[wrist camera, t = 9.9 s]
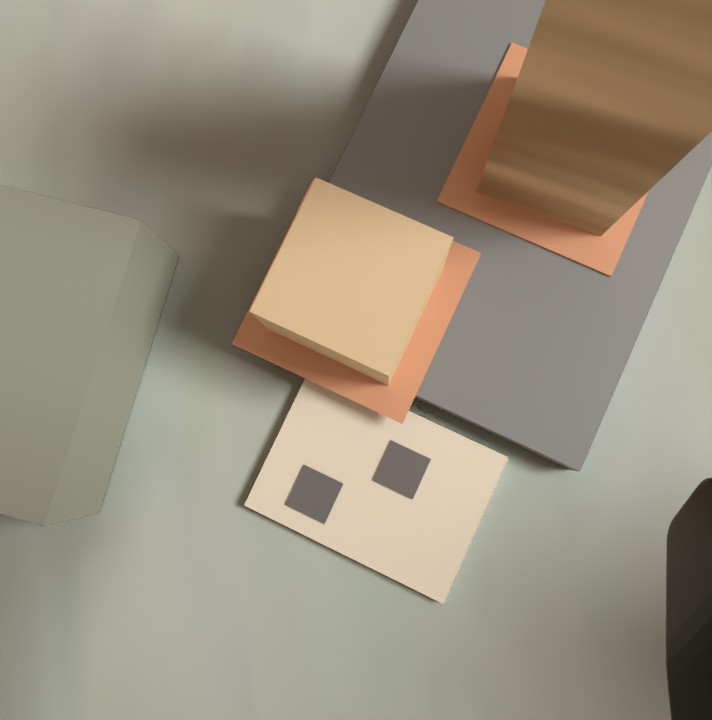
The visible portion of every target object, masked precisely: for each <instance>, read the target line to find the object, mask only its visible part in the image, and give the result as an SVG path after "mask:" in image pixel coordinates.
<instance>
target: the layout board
mask: <svg viewBox="0 0 712 720" xmlns="http://www.w3.org/2000/svg"><path fill="white" fill-rule="evenodd" d="M545 1H546V0H418V2H417V4H416V6H415V8H414V10H413V12H412V14H411V16H410V18H409V20H408V22H407V24H406V26H405V28H404V30H403V32H402V34H401V36H400V38H399V40H398V42H397V45H396V47H395V49H394V51H393V53H392V55H391V57H390V59H389V61H388V63H387V65H386V67H385V69H384V71H383V73H382V75H381V77H380V79H379V81H378V83H377V85H376V87H375V89H374V91H373V93H372V95H371V97H370V99H369V101H368V103H367V106H366V108H365V110H364V112H363V114H362V116H361V118H360V120H359V122H358V124H357V126H356V128H355V130H354V132H353V134H352V136H351V138H350V140H349V142H348V144H347V146H346V148H345V150H344V152H343V154H342V156H341V158H340V160H339V162H338V164H337V167H336V169H335V171H334V173H333V175H332V177H331V179H330V181H329V183H328V182H326V181H323V180H321V179H319V178H316V177H315V179H314V180H312V182H311V184H310V186H309V188H308V190H307V192H306V194H305V196H304V198H303V200H302V202H301V204H300V206H299V208H298V210H297V212H296V214H295V216H294V218H293V220H292V222H291V224H290V226H289V228H288V230H287V232H286V234H285V236H284V238H283V240H282V242H281V244H280V246H279V248H278V250H277V252H276V254H275V256H274V259H273V261H272V263H271V265H270V267H269V269H268V271H267V273H266V275H265V277H264V279H263V281H262V283H261V285H260V287H259V289H258V291H257V293H256V295H255V297H254V299H253V301H252V303H251V305H250V307H249V309H248V311H247V313H246V315H245V317H244V319H243V321H242V323H241V325H240V327H239V329H238V331H237V333H236V335H235V337H234V339H233V341H232V343H231V344H233V345H235V346H237V347H239V348H241V349H244V350H246V351H248V352H250V353H252V354H254V355H256V356H258V357H261V358H263V359H265V360H267V361H269V362H271V363H273V364H276V365H278V366H280V367H282V368H284V369H286V370H288V371H290V372H293V373H295V374H297V375H299V376H301V377H303V378H305V379H307V380H310V381H312V382H314V383H316V384H318V385H320V386H322V387H324V388H327V389H329V390H331V391H333V392H335V393H337V394H339V395H342V396H344V397H346V398H348V399H350V400H352V401H354V402H356V403H359V404H361V405H363V406H365V407H367V408H369V409H371V410H373V411H376V412H378V413H380V414H382V415H384V416H386V417H388V418H390V419H393V420H395V421H397V422H399V423H401V424H403V422H404V420H405V418H406V415H407V413H408V411H409V409H410V407H411V405H412V402H413V400H414V398H417V399H419V400H421V401H424V402H426V403H428V404H430V405H432V406H434V407H437V408H439V409H441V410H443V411H445V412H447V413H449V414H452V415H454V416H456V417H458V418H460V419H462V420H465V421H467V422H469V423H471V424H473V425H475V426H477V427H480V428H482V429H484V430H486V431H488V432H490V433H492V434H495V435H497V436H499V437H501V438H503V439H505V440H508V441H510V442H512V443H514V444H516V445H518V446H520V447H523V448H525V449H527V450H529V451H531V452H533V453H536V454H538V455H540V456H542V457H544V458H546V459H548V460H551V461H553V462H555V463H557V464H559V465H561V466H564V467H566V468H568V469H570V470H575V471H580V470H581V468H582V465H583V463H584V461H585V458H586V456H587V454H588V452H589V449H590V447H591V445H592V442H593V440H594V438H595V435H596V433H597V431H598V428H599V426H600V424H601V421H602V419H603V417H604V414H605V412H606V410H607V407H608V405H609V403H610V400H611V398H612V396H613V393H614V391H615V389H616V386H617V384H618V382H619V379H620V377H621V375H622V373H623V370H624V368H625V366H626V363H627V361H628V359H629V356H630V354H631V352H632V349H633V347H634V345H635V342H636V340H637V338H638V335H639V333H640V331H641V328H642V326H643V324H644V321H645V319H646V317H647V314H648V312H649V310H650V307H651V305H652V303H653V300H654V298H655V296H656V293H657V291H658V289H659V287H660V284H661V282H662V280H663V277H664V275H665V273H666V270H667V268H668V266H669V263H670V261H671V259H672V256H673V254H674V252H675V249H676V247H677V245H678V242H679V240H680V238H681V235H682V233H683V231H684V228H685V226H686V224H687V221H688V219H689V217H690V214H691V212H692V210H693V208H694V205H695V203H696V201H697V198H698V196H699V194H700V191H701V189H702V187H703V184H704V182H705V180H706V177H707V175H708V173H709V170H710V168H711V166H712V131H711V132H710V133H709V134H708V135H707V136H706V137H705V138H704V139H703V140H702V141H701V142H700V143H699V144H698V145H697V146H696V147H695V148H694V149H692V150H691V151H690V152H689V153H688V154H687V155H686V156H685V157H684V158H683V159H682V160H681V161H680V162H679V163H678V164H677V165H676V166H675V167H673V168H672V169H671V170H670V171H669V172H668V173H667V174H666V175H665V176H664V177H663V178H662V179H661V180H660V181H659V182H658V183H657V184H656V185H654V186H653V187H652V188H651V189H650V190H649V191H648V192H647V193H646V194H645V195H644V196H643V197H642V198H641V199H640V200H639V201H638V202H637V203H635V204H634V205H633V206H632V207H631V208H630V209H629V210H628V211H627V212H626V213H625V214H624V215H623V216H622V217H621V218H620V219H619V220H618V221H617V222H615V223H614V224H613V225H612V226H611V227H610V228H609V229H608V230H607V231H606V232H605V233H604V234H603V235H602V236H599V235H597V234H594V233H591V232H588V231H585V230H582V229H579V228H576V227H574V226H571V225H568V224H565V223H562V222H559V221H556V220H554V219H551V218H548V217H545V216H542V215H539V214H536V213H533V212H531V211H528V210H525V209H522V208H519V207H516V206H513V205H510V204H508V203H505V202H502V201H499V200H496V199H493V198H490V197H488V196H485V195H482V194H479V193H476V190H477V187H478V185H479V182H480V179H481V176H482V174H483V171H484V168H485V165H486V163H487V160H488V157H489V154H490V152H491V149H492V146H493V143H494V141H495V138H496V135H497V133H498V130H499V127H500V124H501V122H502V119H503V116H504V113H505V111H506V108H507V105H508V102H509V100H510V97H511V94H512V91H513V89H514V86H515V83H516V80H517V78H518V75H519V72H520V69H521V67H522V64H523V61H524V58H525V56H526V53H527V50H528V47H529V45H530V42H531V39H532V36H533V34H534V31H535V28H536V25H537V23H538V20H539V17H540V14H541V12H542V9H543V6H544V3H545Z"/></svg>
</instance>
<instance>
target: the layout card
mask: <svg viewBox="0 0 712 720" xmlns="http://www.w3.org/2000/svg"><path fill="white" fill-rule="evenodd" d="M507 460H508V457H507V456H504V455H502V454H500V453H498V452H496V451H494V450H492V449H489V448H487V447H485V446H483V445H481V444H479V443H477V442H475V441H472V440H470V439H468V438H466V437H464V436H462V435H460V434H457V433H455V432H453V431H451V430H449V429H447V428H445V427H442V426H440V425H438V424H436V423H434V422H432V421H430V420H427V419H425V418H423V417H421V416H419V415H417V414H415V413H412V412H410V411H408V413H407V415H406V418H405V420H404V422H403V424H401V423H399V422H397V421H395V420H393V419H390V418H388V417H386V416H384V415H382V414H380V413H378V412H376V411H373V410H371V409H369V408H367V407H365V406H363V405H361V404H359V403H356V402H354V401H352V400H350V399H348V398H346V397H344V396H342V395H339V394H337V393H335V392H333V391H331V390H329V389H327V388H324V387H322V386H320V385H318V384H316V383H314V382H312V381H310V380H307V379H304V381H303V384H302V386H301V388H300V390H299V392H298V394H297V396H296V398H295V400H294V402H293V404H292V406H291V409H290V411H289V413H288V415H287V417H286V419H285V421H284V423H283V425H282V427H281V429H280V431H279V434H278V436H277V438H276V440H275V442H274V444H273V446H272V448H271V450H270V452H269V454H268V456H267V458H266V461H265V463H264V465H263V467H262V469H261V471H260V473H259V475H258V477H257V479H256V481H255V483H254V486H253V488H252V490H251V492H250V494H249V496H248V498H247V500H246V502H245V504H244V506H246V507H248V508H250V509H252V510H254V511H256V512H258V513H260V514H262V515H264V516H266V517H268V518H271V519H273V520H275V521H277V522H279V523H281V524H283V525H285V526H287V527H289V528H291V529H293V530H295V531H297V532H299V533H301V534H303V535H305V536H307V537H309V538H311V539H313V540H315V541H317V542H319V543H321V544H323V545H325V546H327V547H329V548H331V549H333V550H335V551H337V552H339V553H341V554H343V555H345V556H347V557H349V558H351V559H353V560H355V561H357V562H359V563H361V564H363V565H365V566H367V567H369V568H372V569H374V570H376V571H378V572H380V573H382V574H384V575H386V576H388V577H390V578H392V579H394V580H396V581H398V582H400V583H402V584H404V585H406V586H408V587H410V588H412V589H414V590H416V591H418V592H420V593H422V594H424V595H426V596H428V597H430V598H432V599H434V600H436V601H438V602H440V603H442V604H444V602H445V600H446V597H447V595H448V593H449V591H450V588H451V586H452V584H453V582H454V579H455V577H456V575H457V573H458V570H459V568H460V566H461V564H462V561H463V559H464V557H465V554H466V552H467V550H468V548H469V545H470V543H471V541H472V539H473V536H474V534H475V532H476V530H477V527H478V525H479V523H480V521H481V518H482V516H483V514H484V512H485V509H486V507H487V505H488V502H489V500H490V498H491V496H492V493H493V491H494V489H495V487H496V484H497V482H498V480H499V478H500V475H501V473H502V471H503V469H504V466H505V464H506V462H507Z"/></svg>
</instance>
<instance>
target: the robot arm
mask: <svg viewBox="0 0 712 720" xmlns="http://www.w3.org/2000/svg"><path fill="white" fill-rule="evenodd" d="M666 668H667V680H668V691H669V700H670V710H671V719H672V720H712V478H707V479H705V480H704V481H702V482H701V483H700V484H699V485H698V487H697V488H696V489H695V491H694V492H693V493H692V494H691V496H690V497H689V498H688V500H687V501H686V502H685V504H684V505H683V506H682V508H681V509H680V510H679V512H678V513H677V514H676V516H675V517H674V518H673V520H672V522H671V524H670V526H669V530H668V534H667V567H666Z"/></svg>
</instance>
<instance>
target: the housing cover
mask: <svg viewBox="0 0 712 720" xmlns="http://www.w3.org/2000/svg"><path fill="white" fill-rule="evenodd" d="M178 258H179V254H178V253H177V252H176V251H175V250H173V249H172V248H171V247H170V246H169V245H168V244H167V243H166V242H165V241H164V240H162V239H161V238H160V237H159V236H158V235H157V234H156V233H155V232H154V231H152V230H151V229H150V228H149V227H148V226H147V225H146V224H145V223H144V222H142V221H141V220H138V219H134V218H130V217H126V216H122V215H118V214H114V213H110V212H106V211H102V210H98V209H94V208H90V207H87V206H83V205H79V204H75V203H71V202H67V201H63V200H59V199H55V198H51V197H47V196H43V195H39V194H36V193H32V192H28V191H24V190H20V189H16V188H12V187H8V186H4V185H0V514H3V515H7V516H10V517H13V518H17V519H20V520H23V521H27V522H30V523H33V524H37V525H40V526H48V525H52V524H56V523H60V522H64V521H68V520H72V519H75V518H79V517H83V516H87V515H91V514H95V513H99V512H100V509H101V506H102V503H103V499H104V496H105V493H106V490H107V486H108V483H109V480H110V477H111V474H112V470H113V467H114V464H115V461H116V457H117V454H118V451H119V448H120V445H121V441H122V438H123V435H124V432H125V428H126V425H127V422H128V419H129V416H130V412H131V409H132V406H133V403H134V399H135V396H136V393H137V390H138V387H139V383H140V380H141V377H142V374H143V370H144V367H145V364H146V361H147V358H148V354H149V351H150V348H151V345H152V341H153V338H154V335H155V332H156V329H157V325H158V322H159V319H160V316H161V312H162V309H163V306H164V303H165V300H166V296H167V293H168V290H169V287H170V283H171V280H172V277H173V274H174V271H175V267H176V264H177V261H178Z"/></svg>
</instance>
